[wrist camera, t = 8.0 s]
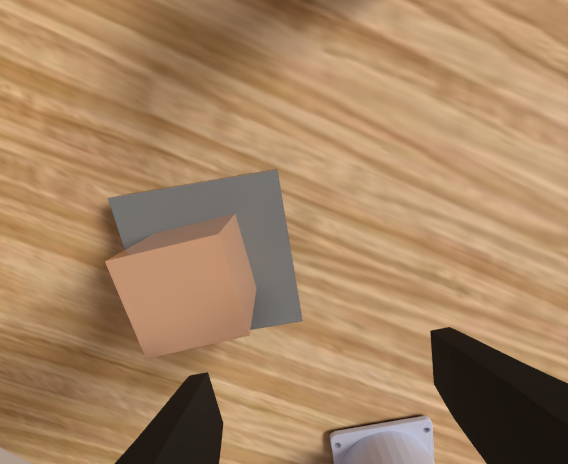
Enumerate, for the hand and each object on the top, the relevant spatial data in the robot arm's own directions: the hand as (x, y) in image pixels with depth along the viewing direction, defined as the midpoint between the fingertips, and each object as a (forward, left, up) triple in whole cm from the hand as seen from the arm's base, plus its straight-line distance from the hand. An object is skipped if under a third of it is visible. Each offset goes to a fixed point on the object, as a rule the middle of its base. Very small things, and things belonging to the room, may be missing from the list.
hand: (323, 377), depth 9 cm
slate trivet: (+2, +5, -10) cm, 12 cm away
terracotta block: (+2, +5, -7) cm, 9 cm away
